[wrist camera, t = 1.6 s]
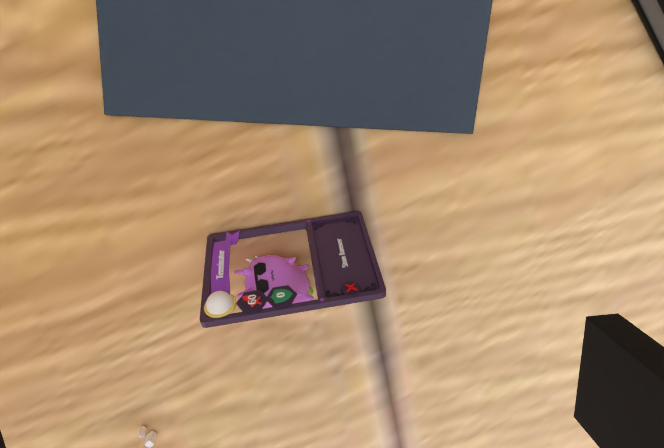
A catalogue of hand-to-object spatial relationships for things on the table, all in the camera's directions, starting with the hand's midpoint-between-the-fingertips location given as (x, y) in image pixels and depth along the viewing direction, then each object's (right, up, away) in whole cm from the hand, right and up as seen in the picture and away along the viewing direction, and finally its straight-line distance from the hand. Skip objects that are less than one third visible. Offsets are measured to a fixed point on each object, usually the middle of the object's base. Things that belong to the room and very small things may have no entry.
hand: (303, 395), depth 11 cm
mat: (-1, +16, +14) cm, 22 cm away
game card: (-2, +2, +19) cm, 19 cm away
